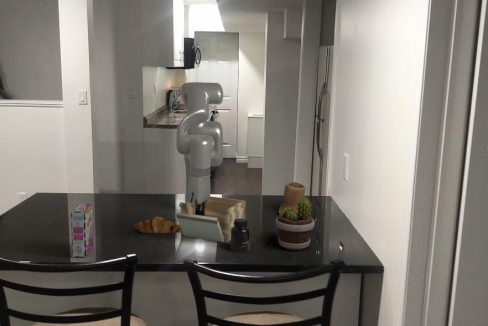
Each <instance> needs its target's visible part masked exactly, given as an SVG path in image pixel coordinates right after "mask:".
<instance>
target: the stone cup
mask: <svg viewBox="0 0 488 326" xmlns="http://www.w3.org/2000/svg"><path fill="white" fill-rule="evenodd" d="M305 193H306V186H305V185H304V184H302V183H300V182H297V181H289V182H287V183H286V184H285V185H284V191H283V198H284V203H281V204H280V206H279V209H278V214H279V215H280V214H281V213H285V211H286V209H288V208H289V209H291V208H292V209H293V208H294V211H295V212H299V211H297V210H298V209H297V208H298V207H297V206H298V205H297V204H298V203H299V200H300V201H301V199H303V197H304V198H305V195H306V194H305ZM302 196H303V197H302ZM295 208H296V209H295Z"/></svg>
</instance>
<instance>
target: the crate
mask: <svg viewBox="0 0 488 326" xmlns="http://www.w3.org/2000/svg"><path fill="white" fill-rule="evenodd" d="M246 202H247V201H246V200H243V199H234V198H227V197H226V198H225V197H219V196H218V197H217V196H211V195H210V198H209V199H208V201H207V202H206V206H205V216H207V217H214V218H218V221H219V224H220V228H221V231H222V234H223V237H224V242H225V243H230V242H231V229H232V227H234V220H235V219H239V218H242V219H247V218H246V209H247V208H246V207H247V203H246ZM180 213H186V214H193V215H195V208H192V202H191V203H188V202H186V201H185V202H184V204H182V205H181V207H180ZM180 234H181V236H184V235H183V232H182V229H181V232H180Z"/></svg>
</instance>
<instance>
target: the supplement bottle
mask: <svg viewBox="0 0 488 326" xmlns="http://www.w3.org/2000/svg"><path fill="white" fill-rule="evenodd" d="M248 224H249V223H248V219H247V218H245V219H242V218H239V219H235V220H234V227H232V229H231V240H230V251H232V252H233V253H240V254H241V253H247V252H249V251H250V243H251V242H250V240H251V239H250V238H251V237H250V236H251V235H250V234H251V230H250V228H249V227H248Z"/></svg>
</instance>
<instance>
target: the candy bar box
mask: <svg viewBox="0 0 488 326" xmlns="http://www.w3.org/2000/svg"><path fill="white" fill-rule="evenodd" d="M93 213H94V211H93V203H78V204H77V205H76V206H75V208H74V209H72V210H71V211H70V222H71V223H70V224H71V225H70V226H71V254H72V255H71V256H72V258H75V257H84V258H87V257H88V255H89V254H88V253H90V252H91V251H92V249H93V248H94V225H93V223H94V222H93V221H94V219H93V216H94V215H93ZM92 247H93V248H92ZM90 250H91V251H90Z"/></svg>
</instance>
